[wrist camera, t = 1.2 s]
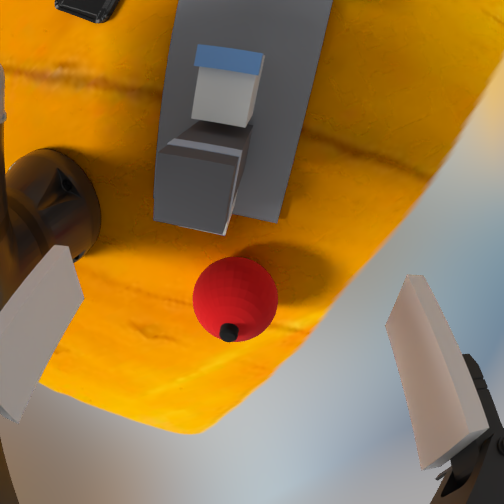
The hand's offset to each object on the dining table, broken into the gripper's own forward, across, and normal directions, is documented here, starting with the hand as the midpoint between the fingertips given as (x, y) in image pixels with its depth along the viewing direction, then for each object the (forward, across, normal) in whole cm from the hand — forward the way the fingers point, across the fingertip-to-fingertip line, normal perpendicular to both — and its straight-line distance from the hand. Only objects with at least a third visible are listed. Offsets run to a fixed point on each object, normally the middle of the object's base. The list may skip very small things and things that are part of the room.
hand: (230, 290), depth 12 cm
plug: (+20, -3, 0) cm, 20 cm away
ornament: (+21, -1, -16) cm, 26 cm away
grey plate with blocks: (+21, -2, +6) cm, 22 cm away
